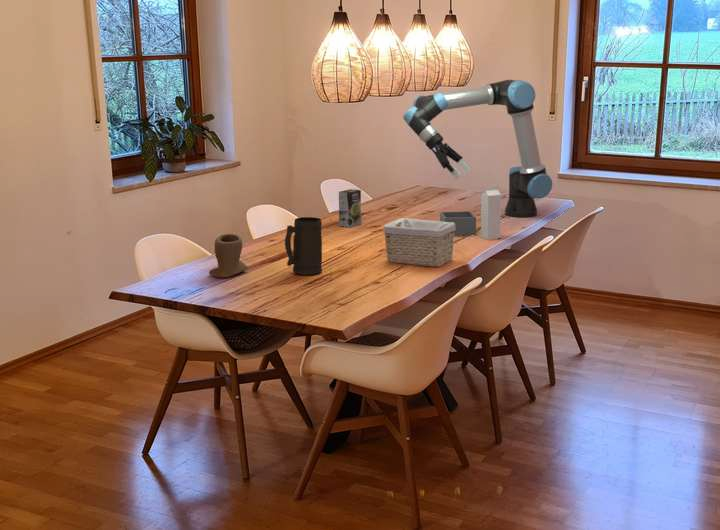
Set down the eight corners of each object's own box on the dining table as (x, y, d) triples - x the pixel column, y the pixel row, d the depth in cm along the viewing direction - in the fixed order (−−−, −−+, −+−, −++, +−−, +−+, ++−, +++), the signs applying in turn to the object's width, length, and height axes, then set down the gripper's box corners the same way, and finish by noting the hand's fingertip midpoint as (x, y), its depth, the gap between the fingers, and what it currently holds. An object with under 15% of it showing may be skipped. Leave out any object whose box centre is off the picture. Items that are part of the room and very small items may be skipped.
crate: (470, 228, 380) (470, 211, 378) (476, 235, 367) (476, 217, 364) (440, 229, 379) (440, 212, 377) (444, 236, 366) (444, 218, 364)
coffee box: (349, 228, 387) (349, 192, 383) (338, 226, 391) (337, 191, 386) (362, 224, 394) (361, 189, 390) (351, 222, 398) (350, 188, 393)
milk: (480, 237, 363) (481, 186, 358) (493, 236, 366) (493, 184, 360) (487, 240, 358) (488, 188, 352) (500, 238, 360) (501, 186, 354)
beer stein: (308, 266, 322) (306, 214, 317) (329, 271, 315) (327, 217, 310) (279, 275, 311) (276, 221, 306) (300, 280, 304) (298, 225, 299)
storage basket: (382, 262, 326) (381, 224, 322) (401, 253, 340) (400, 216, 336) (439, 269, 315) (439, 230, 311) (456, 259, 328) (457, 222, 325)
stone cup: (228, 281, 305) (226, 240, 301) (204, 277, 311) (201, 236, 307) (257, 271, 316) (254, 232, 313) (233, 267, 323) (230, 228, 319)
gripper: (435, 140, 380) (466, 176, 378) (414, 147, 358) (448, 184, 356) (447, 129, 377) (478, 165, 374) (427, 134, 355) (460, 172, 352)
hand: (463, 174), depth 365 cm, fingers open, 13 cm apart
